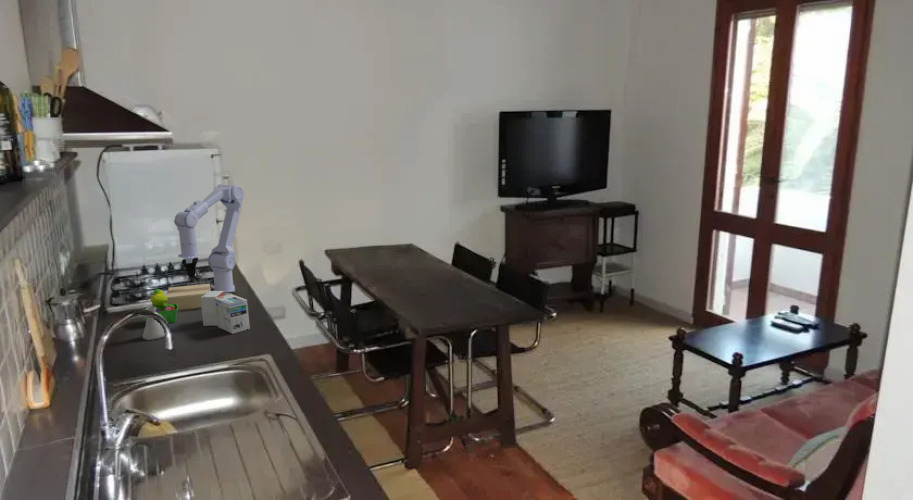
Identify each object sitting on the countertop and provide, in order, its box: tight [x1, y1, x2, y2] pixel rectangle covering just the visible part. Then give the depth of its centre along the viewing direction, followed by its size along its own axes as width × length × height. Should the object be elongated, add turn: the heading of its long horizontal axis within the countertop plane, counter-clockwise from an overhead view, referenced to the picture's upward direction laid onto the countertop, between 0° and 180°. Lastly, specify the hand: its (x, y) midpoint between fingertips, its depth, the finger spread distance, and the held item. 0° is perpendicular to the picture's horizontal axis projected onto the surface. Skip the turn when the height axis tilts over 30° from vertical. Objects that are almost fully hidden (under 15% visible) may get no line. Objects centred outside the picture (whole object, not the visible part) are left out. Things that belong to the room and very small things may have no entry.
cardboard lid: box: [165, 283, 211, 299], centre depth 247 cm, size 14×15×1 cm
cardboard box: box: [167, 289, 212, 312], centre depth 247 cm, size 14×15×5 cm
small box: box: [201, 290, 226, 327], centre depth 226 cm, size 8×6×10 cm
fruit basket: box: [142, 288, 178, 324], centre depth 227 cm, size 11×9×11 cm
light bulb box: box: [215, 293, 251, 334], centre depth 220 cm, size 11×7×11 cm, turn 47°
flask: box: [142, 306, 166, 341], centre depth 213 cm, size 7×7×10 cm
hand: (192, 277), depth 249 cm, fingers closed
